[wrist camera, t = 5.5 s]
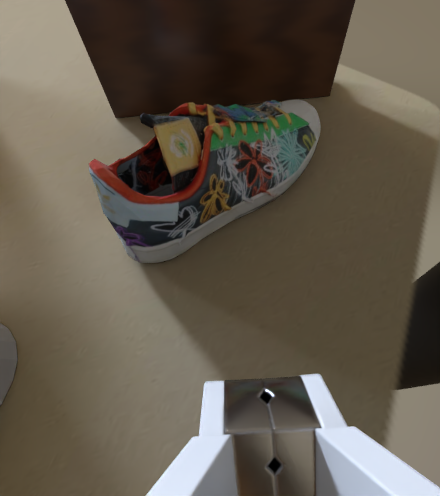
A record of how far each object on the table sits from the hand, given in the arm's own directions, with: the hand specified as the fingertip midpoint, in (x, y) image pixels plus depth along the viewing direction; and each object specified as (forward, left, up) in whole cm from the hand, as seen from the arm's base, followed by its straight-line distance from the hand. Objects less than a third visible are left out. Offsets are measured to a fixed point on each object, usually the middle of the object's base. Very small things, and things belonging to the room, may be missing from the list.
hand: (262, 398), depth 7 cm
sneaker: (0, -18, -11) cm, 21 cm away
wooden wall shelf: (0, -34, -11) cm, 35 cm away
